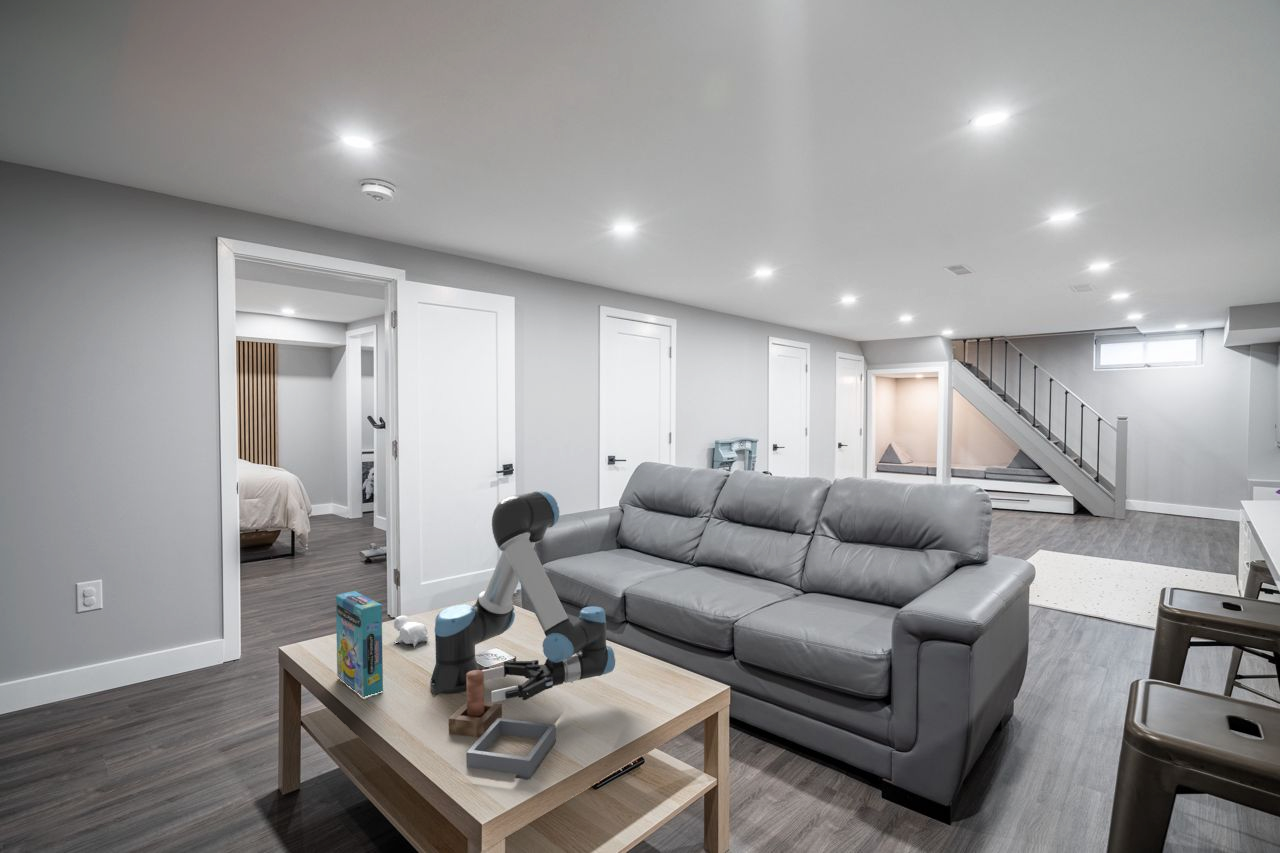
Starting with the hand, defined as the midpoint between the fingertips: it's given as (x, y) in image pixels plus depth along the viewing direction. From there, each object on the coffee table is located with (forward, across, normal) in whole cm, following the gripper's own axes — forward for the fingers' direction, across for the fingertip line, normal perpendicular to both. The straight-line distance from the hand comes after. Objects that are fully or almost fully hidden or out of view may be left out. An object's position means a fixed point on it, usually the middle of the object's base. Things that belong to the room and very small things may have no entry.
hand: (485, 686), depth 157 cm
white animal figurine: (+12, +75, -12) cm, 77 cm away
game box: (+29, +44, -12) cm, 54 cm away
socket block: (+2, +1, -11) cm, 12 cm away
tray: (-3, -16, -11) cm, 20 cm away
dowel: (+2, +1, -10) cm, 11 cm away
